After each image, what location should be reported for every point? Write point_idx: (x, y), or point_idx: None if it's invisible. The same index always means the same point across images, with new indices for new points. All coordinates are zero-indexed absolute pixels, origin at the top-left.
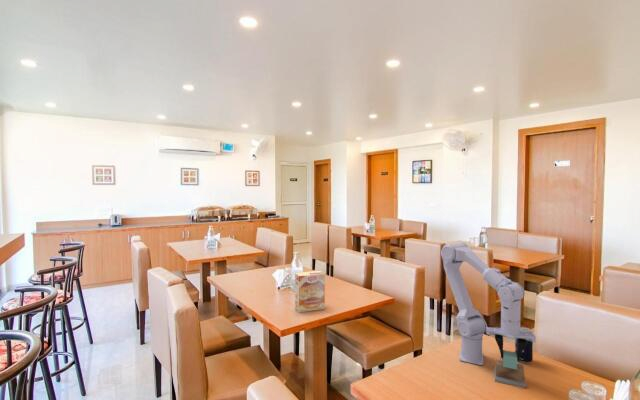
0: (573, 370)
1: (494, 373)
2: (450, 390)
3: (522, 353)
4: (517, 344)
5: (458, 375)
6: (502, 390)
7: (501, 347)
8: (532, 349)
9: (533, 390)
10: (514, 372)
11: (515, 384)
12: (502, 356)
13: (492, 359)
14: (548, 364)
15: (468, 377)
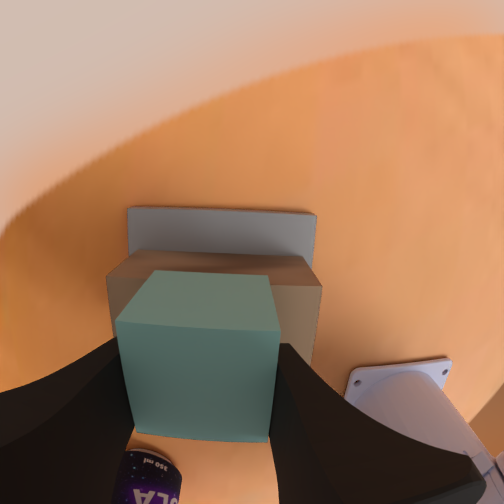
0: None
1: None
2: (498, 61)
3: (141, 483)
4: (73, 486)
5: (482, 206)
6: (277, 117)
7: (323, 413)
8: None
9: (97, 201)
10: (180, 269)
11: (188, 209)
12: (281, 349)
13: None
14: None
15: (446, 202)
